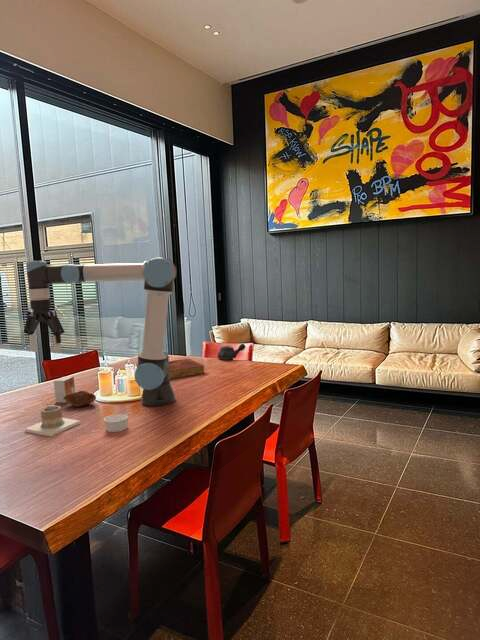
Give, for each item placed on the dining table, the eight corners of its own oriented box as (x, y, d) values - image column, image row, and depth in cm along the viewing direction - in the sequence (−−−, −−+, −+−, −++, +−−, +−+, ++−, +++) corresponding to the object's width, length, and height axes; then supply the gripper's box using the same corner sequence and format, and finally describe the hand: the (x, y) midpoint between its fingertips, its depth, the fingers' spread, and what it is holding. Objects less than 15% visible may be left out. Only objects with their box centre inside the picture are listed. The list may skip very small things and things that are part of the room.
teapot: (215, 361, 271) (214, 346, 270) (219, 356, 286) (218, 341, 285) (244, 361, 269) (243, 345, 267) (247, 356, 284) (246, 341, 283)
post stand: (80, 423, 170) (78, 402, 169) (50, 436, 158) (48, 413, 157) (55, 419, 177) (53, 398, 176) (25, 431, 164) (22, 409, 163)
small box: (66, 403, 198) (64, 380, 197) (55, 402, 199) (53, 380, 198) (76, 397, 206) (74, 376, 205) (65, 397, 207) (63, 376, 206)
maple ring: (66, 421, 169) (65, 406, 168) (51, 428, 162) (50, 412, 162) (53, 419, 172) (52, 405, 171) (38, 425, 165) (37, 410, 165)
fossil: (101, 396, 195) (86, 380, 191) (92, 409, 188) (77, 394, 184) (82, 403, 200) (67, 388, 196) (73, 416, 194) (58, 401, 190)
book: (189, 366, 264) (188, 358, 263) (205, 374, 243) (204, 365, 242) (141, 373, 250) (141, 365, 249) (154, 382, 229) (153, 373, 228)
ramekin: (109, 424, 168) (108, 414, 168) (131, 424, 168) (130, 413, 167) (101, 433, 159) (100, 422, 159) (124, 433, 159) (123, 421, 158)
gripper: (70, 297, 173) (75, 349, 175) (26, 298, 183) (31, 347, 185) (55, 299, 166) (61, 353, 168) (10, 300, 176) (16, 351, 179)
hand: (45, 350), depth 177 cm, fingers open, 13 cm apart
